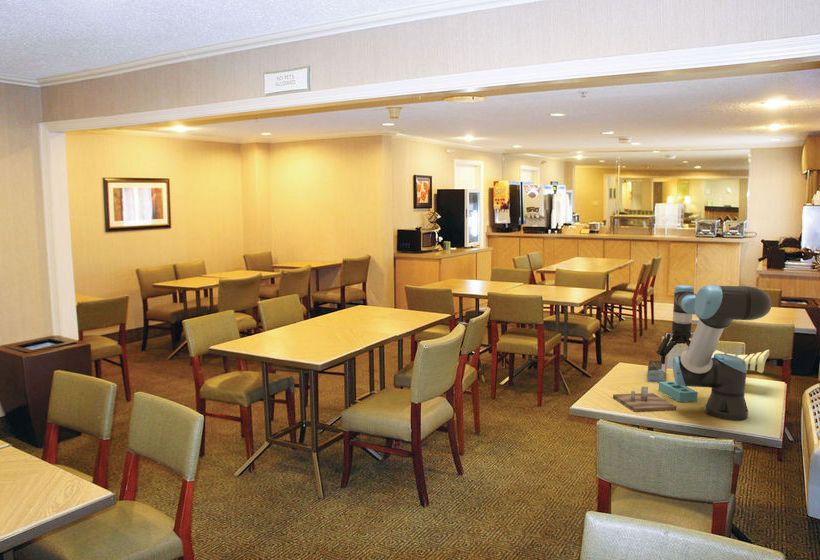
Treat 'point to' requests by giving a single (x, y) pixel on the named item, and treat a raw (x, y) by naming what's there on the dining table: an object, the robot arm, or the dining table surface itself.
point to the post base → (644, 401)
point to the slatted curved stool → (751, 360)
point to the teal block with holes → (677, 391)
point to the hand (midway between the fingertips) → (678, 370)
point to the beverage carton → (655, 372)
